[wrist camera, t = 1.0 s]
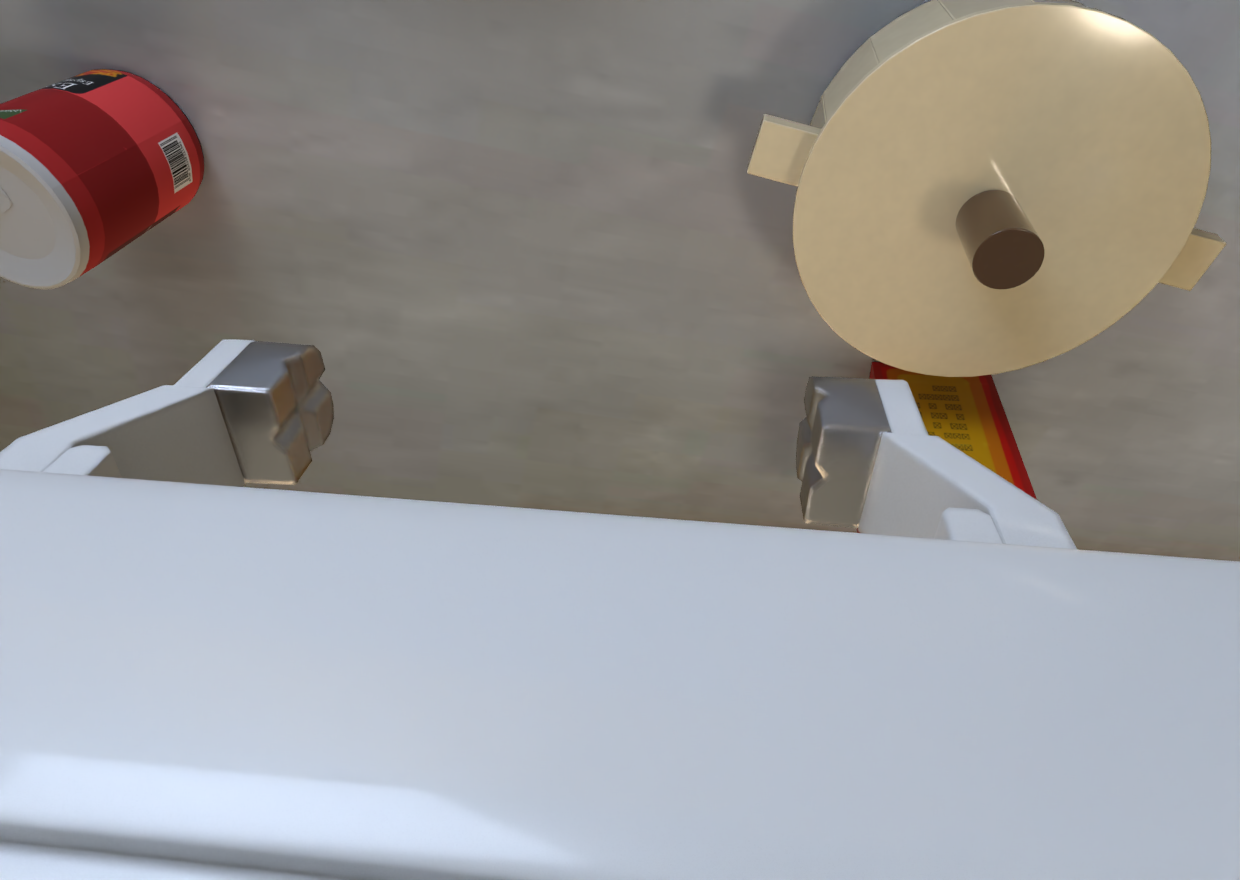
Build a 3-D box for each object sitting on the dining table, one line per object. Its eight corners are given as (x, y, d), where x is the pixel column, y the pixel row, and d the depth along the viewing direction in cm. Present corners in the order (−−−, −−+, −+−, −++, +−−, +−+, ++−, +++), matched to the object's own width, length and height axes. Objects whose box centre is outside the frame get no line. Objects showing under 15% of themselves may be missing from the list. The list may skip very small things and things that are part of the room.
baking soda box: (954, 487, 52) (1007, 699, 40) (852, 480, 53) (873, 686, 41) (988, 366, 46) (1063, 571, 34) (872, 361, 47) (904, 559, 35)
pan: (813, -71, 34) (818, -50, 29) (1272, 52, 35) (1355, 94, 30) (715, 247, 44) (706, 304, 39) (1073, 342, 44) (1110, 410, 39)
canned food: (114, 34, 42) (-55, 91, 34) (235, 158, 45) (110, 239, 37) (51, 119, 46) (-114, 191, 37) (168, 228, 49) (40, 316, 41)
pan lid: (879, -52, 30) (894, -30, 26) (1301, 61, 30) (1380, 100, 26) (746, 317, 40) (742, 373, 36) (1058, 400, 40) (1088, 464, 36)
